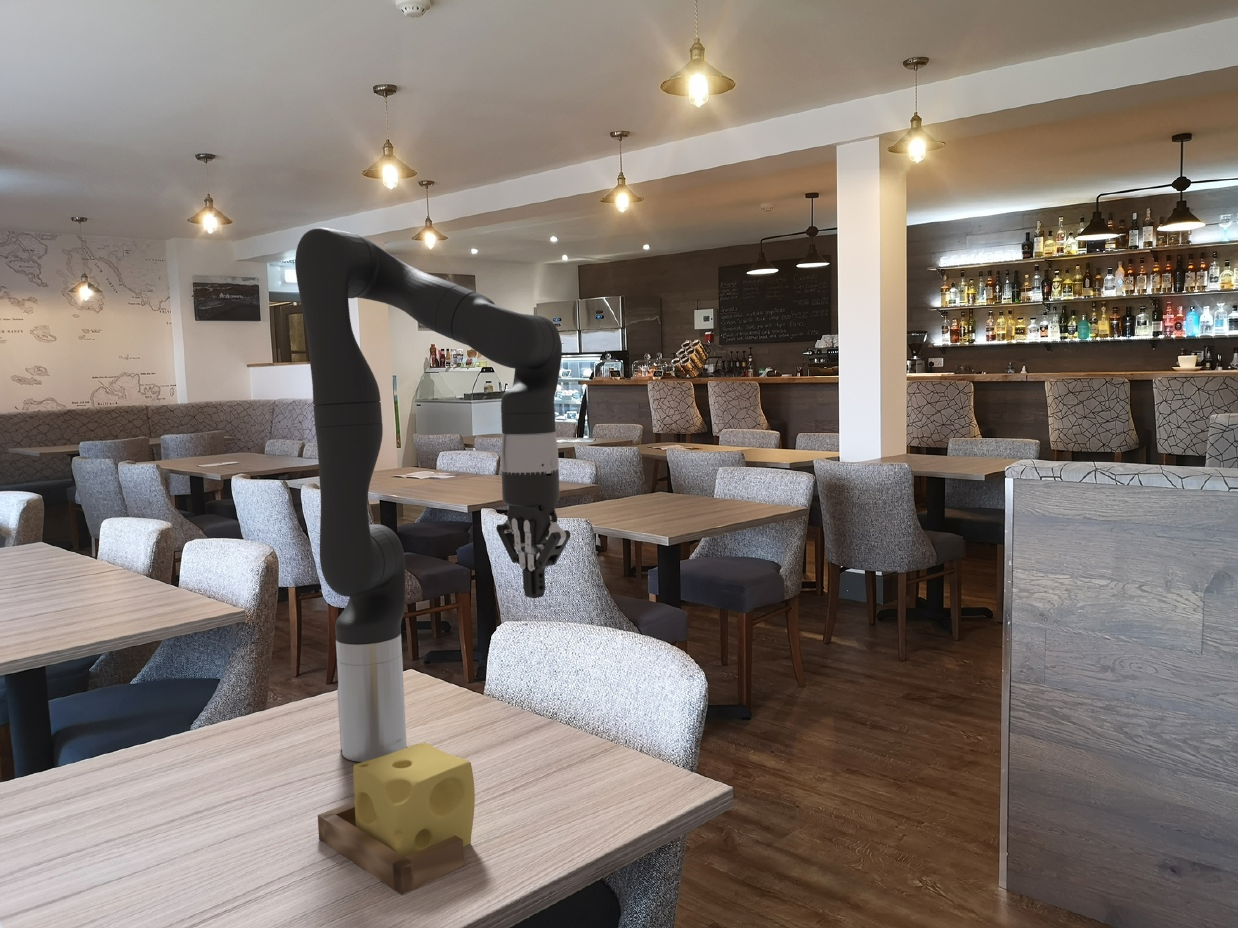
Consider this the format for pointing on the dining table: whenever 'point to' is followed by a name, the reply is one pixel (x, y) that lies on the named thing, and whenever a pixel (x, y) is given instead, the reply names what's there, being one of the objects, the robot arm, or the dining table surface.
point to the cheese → (414, 798)
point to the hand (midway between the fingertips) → (534, 596)
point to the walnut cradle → (387, 852)
